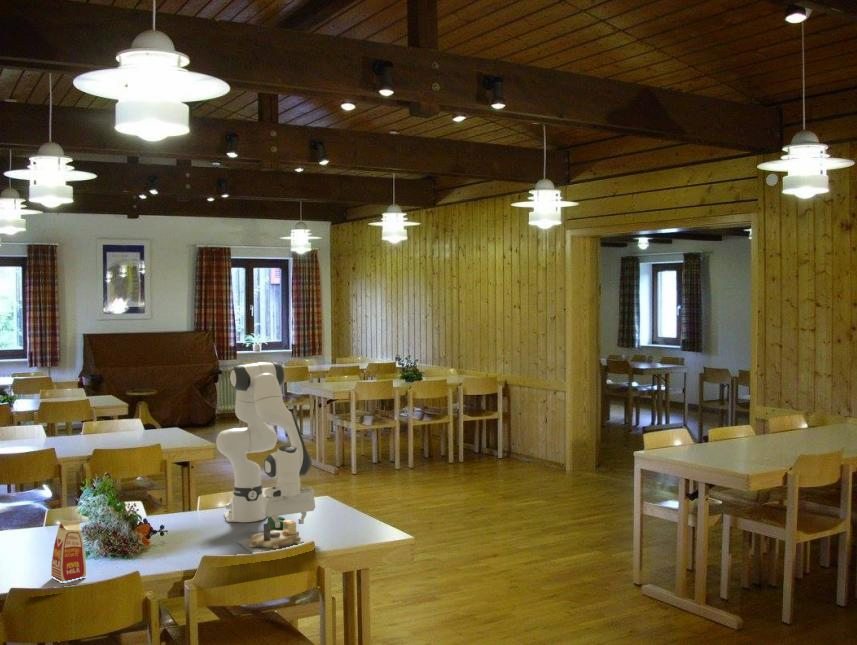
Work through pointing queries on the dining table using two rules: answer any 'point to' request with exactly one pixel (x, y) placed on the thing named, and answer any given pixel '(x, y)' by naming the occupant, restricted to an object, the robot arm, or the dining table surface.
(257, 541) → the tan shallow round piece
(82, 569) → the milk carton
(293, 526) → the beige small block
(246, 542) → the base plate
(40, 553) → the dining table surface
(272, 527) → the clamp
